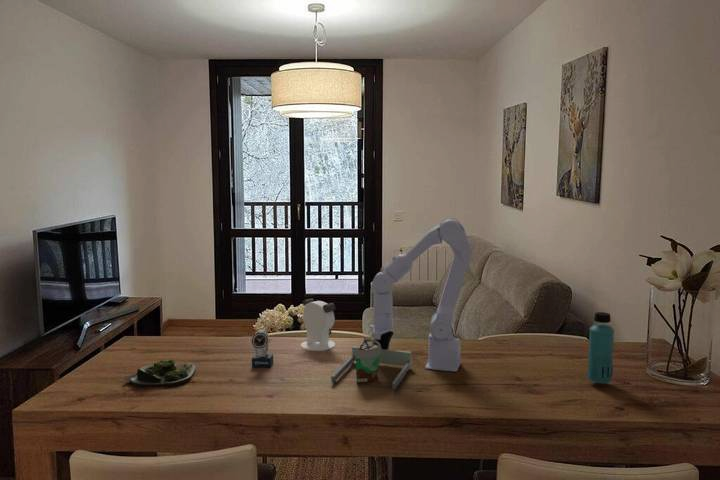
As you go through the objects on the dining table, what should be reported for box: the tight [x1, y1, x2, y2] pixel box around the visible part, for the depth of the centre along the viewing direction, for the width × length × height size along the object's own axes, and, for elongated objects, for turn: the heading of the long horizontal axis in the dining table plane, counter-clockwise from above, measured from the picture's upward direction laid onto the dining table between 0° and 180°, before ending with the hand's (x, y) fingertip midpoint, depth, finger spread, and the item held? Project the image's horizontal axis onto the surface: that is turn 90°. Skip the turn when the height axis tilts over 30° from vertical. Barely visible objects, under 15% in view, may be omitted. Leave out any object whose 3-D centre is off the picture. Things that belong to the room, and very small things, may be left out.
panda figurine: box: [300, 298, 336, 352], centre depth 198 cm, size 12×11×15 cm
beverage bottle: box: [586, 311, 615, 384], centre depth 163 cm, size 6×7×20 cm
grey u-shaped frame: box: [330, 345, 412, 391], centre depth 171 cm, size 18×19×5 cm
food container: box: [355, 337, 382, 385], centre depth 168 cm, size 12×6×10 cm, turn 168°
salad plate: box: [123, 358, 196, 388], centre depth 172 cm, size 19×18×5 cm
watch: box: [251, 329, 274, 369], centre depth 179 cm, size 6×8×11 cm
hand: (382, 355), depth 181 cm, fingers closed
